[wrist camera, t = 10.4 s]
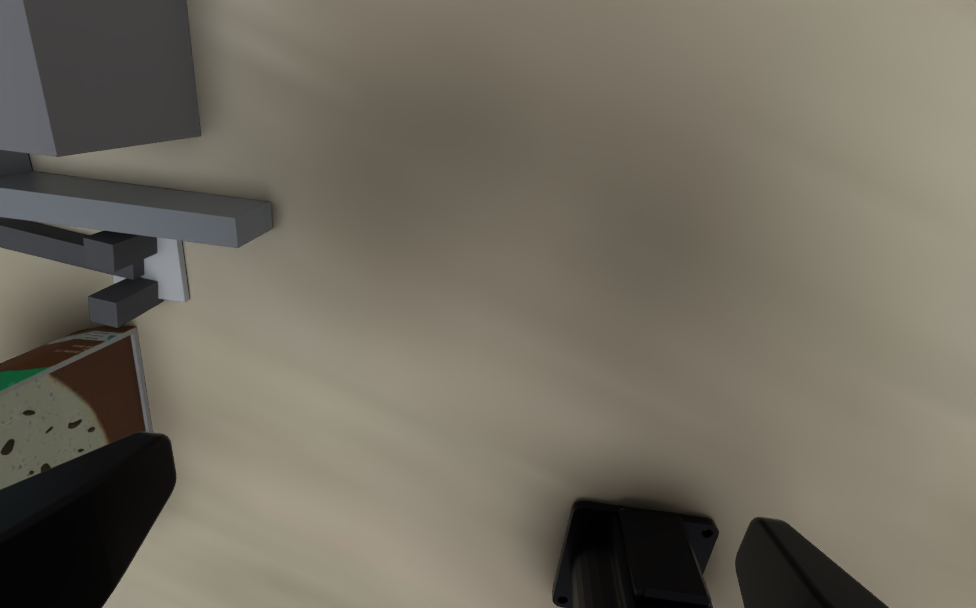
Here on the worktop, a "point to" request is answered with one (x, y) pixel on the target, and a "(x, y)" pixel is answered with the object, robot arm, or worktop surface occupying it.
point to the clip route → (109, 265)
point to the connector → (95, 75)
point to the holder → (127, 206)
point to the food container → (70, 400)
